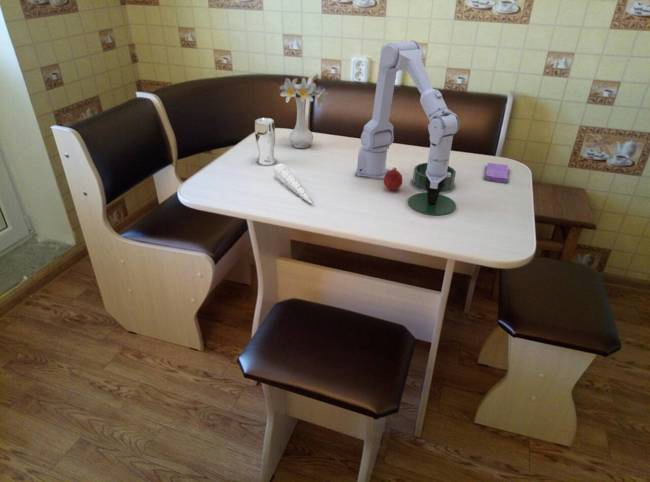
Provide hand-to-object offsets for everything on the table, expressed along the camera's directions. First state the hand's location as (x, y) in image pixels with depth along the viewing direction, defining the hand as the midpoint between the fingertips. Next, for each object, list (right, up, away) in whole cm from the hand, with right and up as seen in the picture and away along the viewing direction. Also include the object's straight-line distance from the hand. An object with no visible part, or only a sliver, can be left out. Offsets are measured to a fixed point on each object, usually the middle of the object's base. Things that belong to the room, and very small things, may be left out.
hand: (432, 200), depth 135 cm
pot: (+3, +6, +14) cm, 16 cm away
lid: (0, -1, +1) cm, 1 cm away
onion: (-11, +4, +9) cm, 15 cm away
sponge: (+27, +11, +22) cm, 36 cm away
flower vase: (-40, +25, +43) cm, 64 cm away
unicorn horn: (-42, +5, +10) cm, 43 cm away
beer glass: (-53, +16, +29) cm, 62 cm away
